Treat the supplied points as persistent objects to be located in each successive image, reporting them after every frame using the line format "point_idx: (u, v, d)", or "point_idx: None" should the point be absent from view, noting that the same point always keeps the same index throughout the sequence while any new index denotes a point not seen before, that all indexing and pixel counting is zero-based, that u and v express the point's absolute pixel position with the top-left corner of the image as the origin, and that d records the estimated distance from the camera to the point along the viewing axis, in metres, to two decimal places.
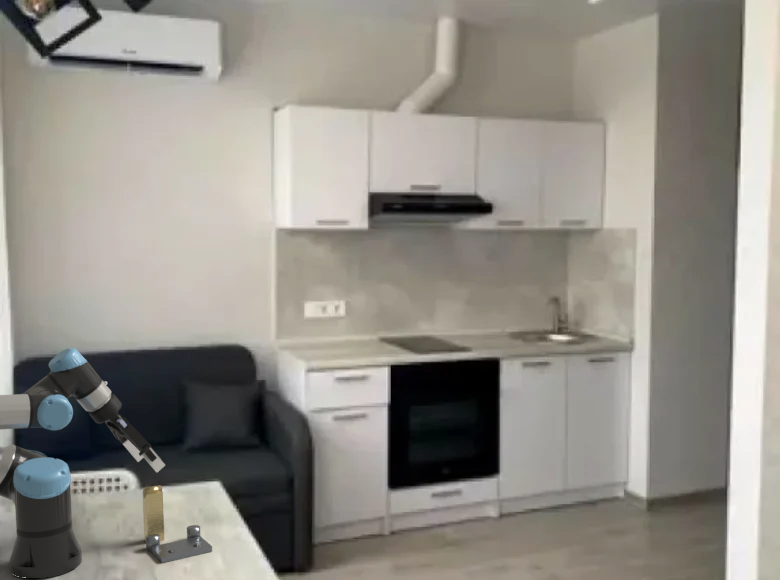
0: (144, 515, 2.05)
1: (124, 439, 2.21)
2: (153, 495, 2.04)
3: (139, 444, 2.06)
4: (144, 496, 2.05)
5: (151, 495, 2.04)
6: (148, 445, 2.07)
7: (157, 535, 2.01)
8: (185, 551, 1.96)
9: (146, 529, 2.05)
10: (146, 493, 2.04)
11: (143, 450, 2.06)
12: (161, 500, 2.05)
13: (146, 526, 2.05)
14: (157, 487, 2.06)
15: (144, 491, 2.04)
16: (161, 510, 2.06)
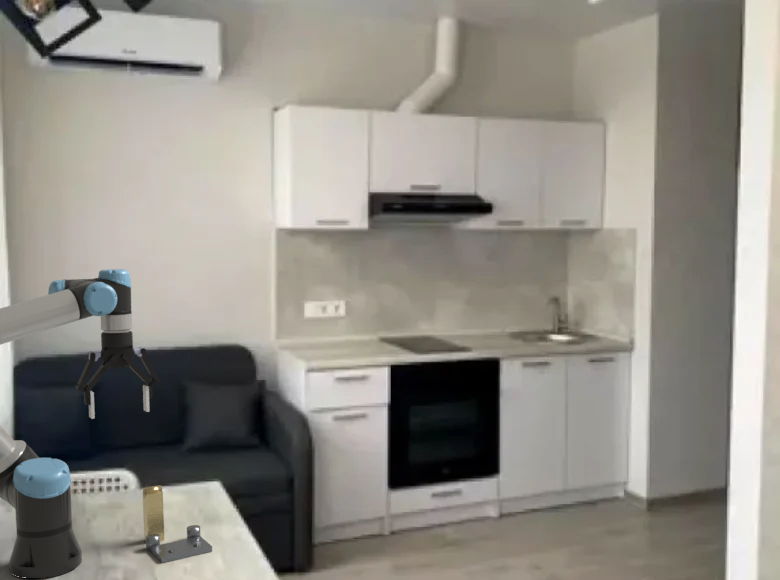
0: (144, 515, 2.05)
1: None
2: (153, 495, 2.04)
3: None
4: (144, 496, 2.05)
5: (151, 495, 2.04)
6: None
7: (157, 535, 2.01)
8: (185, 551, 1.96)
9: (146, 529, 2.05)
10: (146, 493, 2.04)
11: None
12: (161, 500, 2.05)
13: (146, 526, 2.05)
14: (157, 487, 2.06)
15: (144, 491, 2.04)
16: (161, 510, 2.06)
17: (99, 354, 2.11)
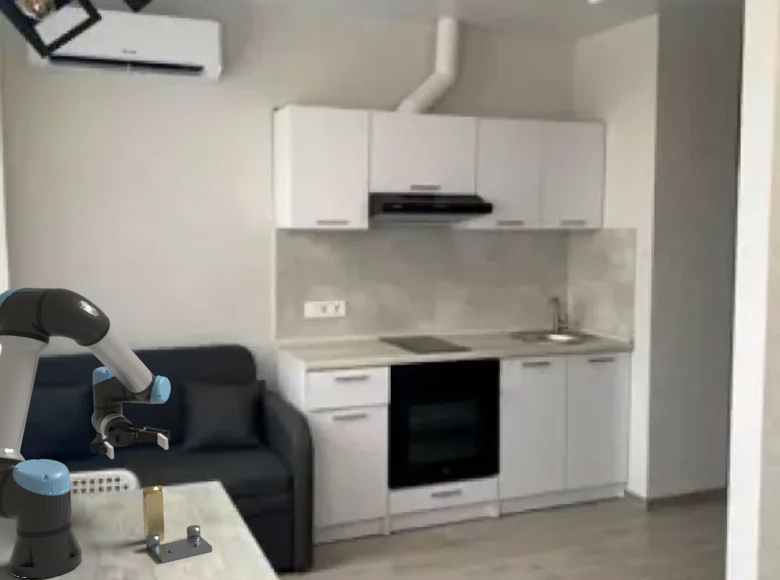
0: (144, 515, 2.05)
1: None
2: (153, 495, 2.04)
3: None
4: (144, 496, 2.05)
5: (151, 495, 2.04)
6: None
7: (157, 535, 2.01)
8: (185, 551, 1.96)
9: (146, 529, 2.05)
10: (146, 493, 2.04)
11: None
12: (161, 500, 2.05)
13: (146, 526, 2.05)
14: (157, 487, 2.06)
15: (144, 491, 2.04)
16: (161, 510, 2.06)
17: (105, 435, 2.23)
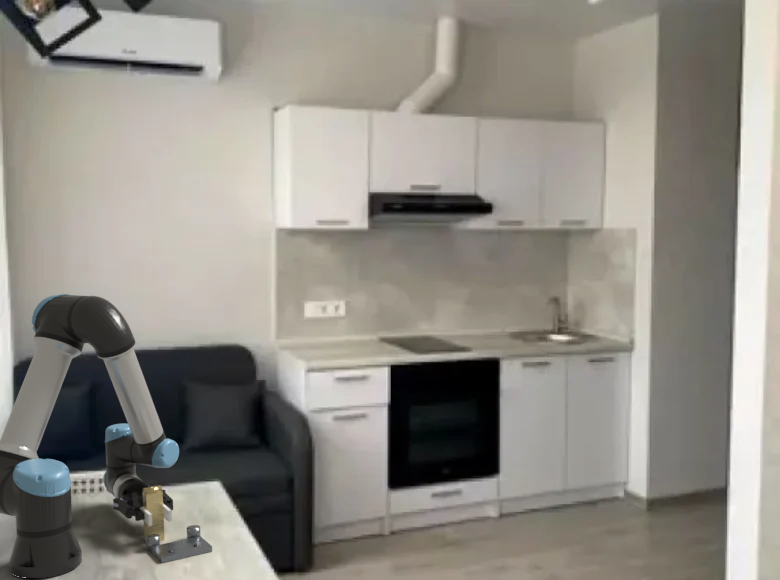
0: None
1: None
2: (153, 495, 2.04)
3: None
4: (144, 496, 2.05)
5: (151, 495, 2.04)
6: None
7: (157, 535, 2.01)
8: (185, 551, 1.96)
9: (146, 529, 2.05)
10: (146, 493, 2.04)
11: (172, 501, 2.11)
12: (161, 500, 2.05)
13: (146, 526, 2.05)
14: (157, 487, 2.06)
15: (144, 491, 2.04)
16: (161, 510, 2.06)
17: None
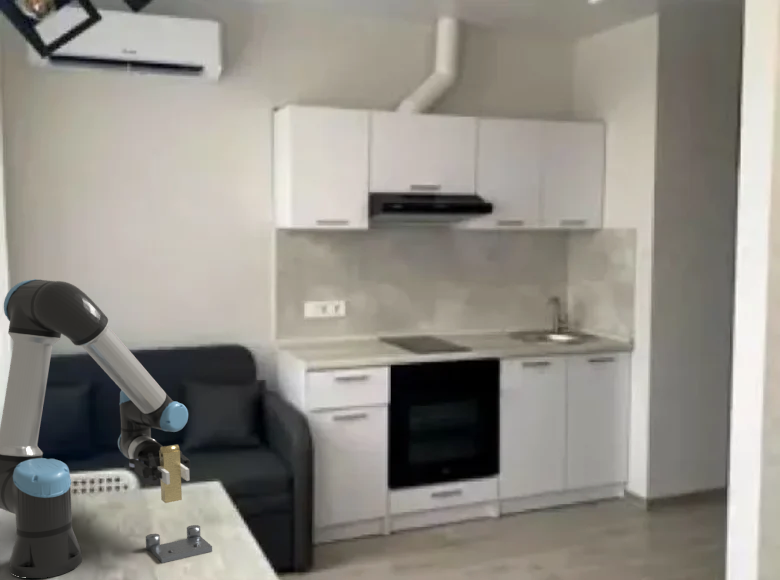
0: None
1: None
2: (170, 454, 2.01)
3: None
4: (161, 455, 2.01)
5: (168, 454, 2.01)
6: None
7: (157, 535, 2.01)
8: (185, 551, 1.96)
9: (163, 489, 2.01)
10: (163, 452, 2.00)
11: (189, 461, 2.08)
12: (178, 459, 2.02)
13: (163, 485, 2.01)
14: (174, 446, 2.02)
15: (162, 450, 2.01)
16: (178, 469, 2.02)
17: None
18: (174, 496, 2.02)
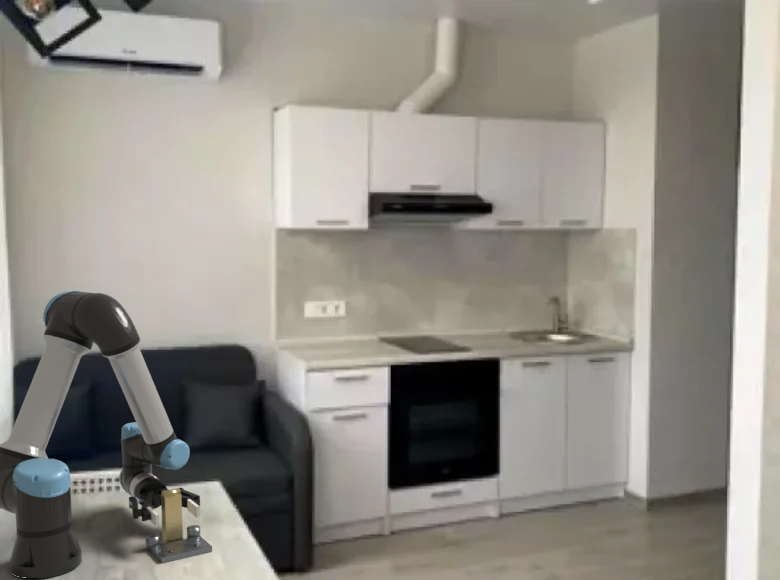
0: (162, 518, 2.03)
1: None
2: (172, 498, 2.02)
3: None
4: (163, 499, 2.02)
5: (170, 498, 2.02)
6: None
7: (157, 535, 2.01)
8: (185, 551, 1.96)
9: (165, 532, 2.02)
10: (165, 496, 2.01)
11: None
12: (180, 503, 2.03)
13: (164, 529, 2.02)
14: (176, 490, 2.03)
15: (163, 494, 2.02)
16: (180, 513, 2.03)
17: (137, 498, 2.11)
18: (175, 539, 2.03)
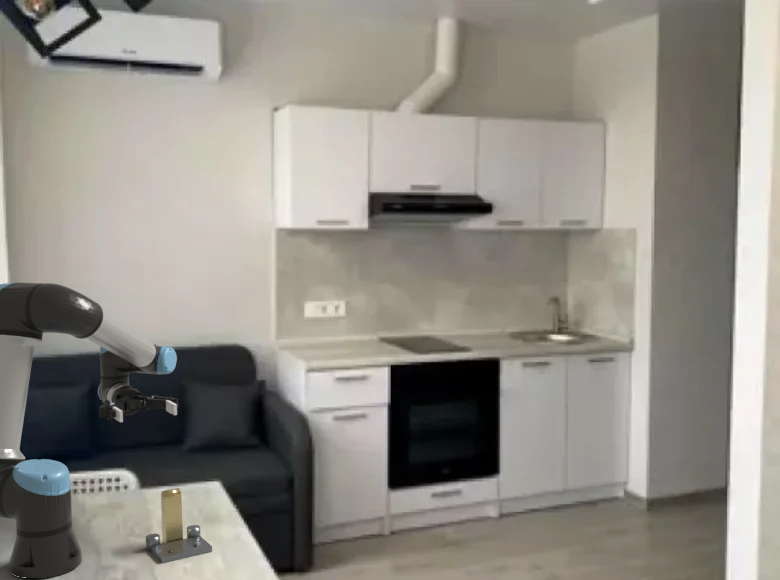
0: (162, 518, 2.03)
1: None
2: (172, 498, 2.02)
3: None
4: (163, 499, 2.02)
5: (170, 498, 2.02)
6: None
7: (157, 535, 2.01)
8: (185, 551, 1.96)
9: (165, 532, 2.02)
10: (165, 496, 2.01)
11: None
12: (180, 503, 2.03)
13: (164, 529, 2.02)
14: (176, 490, 2.03)
15: (163, 494, 2.02)
16: (180, 513, 2.03)
17: (113, 402, 2.22)
18: (175, 539, 2.03)
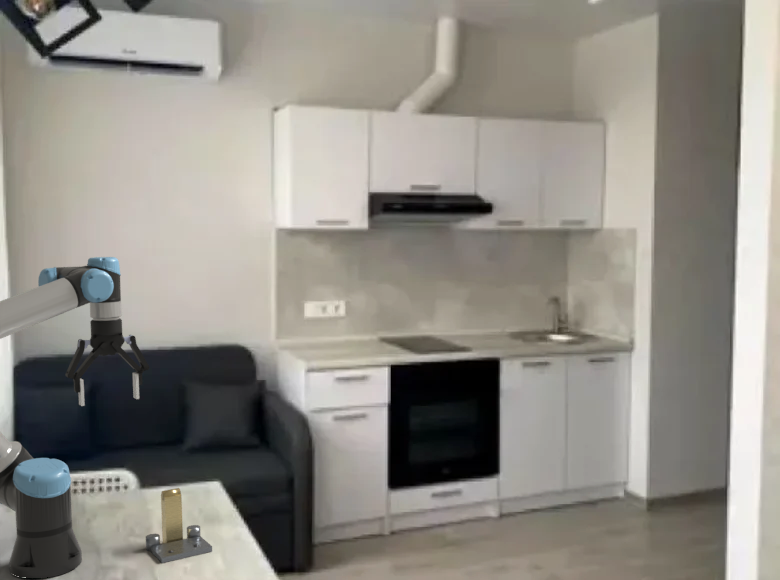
0: (162, 518, 2.03)
1: None
2: (172, 498, 2.02)
3: None
4: (163, 499, 2.02)
5: (170, 498, 2.02)
6: None
7: (157, 535, 2.01)
8: (185, 551, 1.96)
9: (165, 532, 2.02)
10: (165, 496, 2.01)
11: None
12: (180, 503, 2.03)
13: (164, 529, 2.02)
14: (176, 490, 2.03)
15: (163, 494, 2.02)
16: (180, 513, 2.03)
17: (88, 341, 2.11)
18: (175, 539, 2.03)
